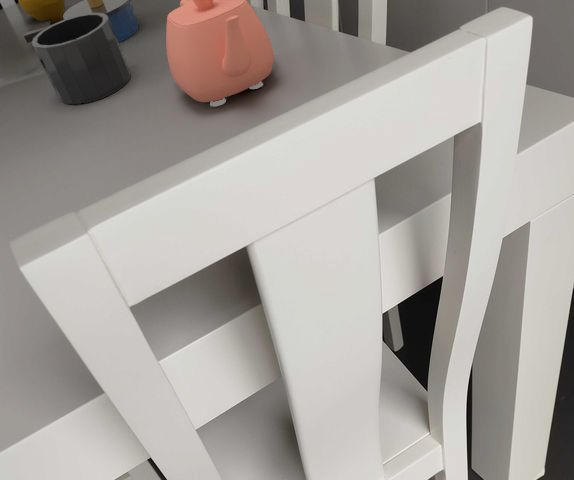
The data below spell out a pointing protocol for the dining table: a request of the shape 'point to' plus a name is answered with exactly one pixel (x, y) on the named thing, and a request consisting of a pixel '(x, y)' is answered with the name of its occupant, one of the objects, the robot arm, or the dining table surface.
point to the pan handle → (33, 34)
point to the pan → (124, 23)
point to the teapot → (217, 48)
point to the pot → (82, 58)
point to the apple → (44, 9)
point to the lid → (96, 7)
